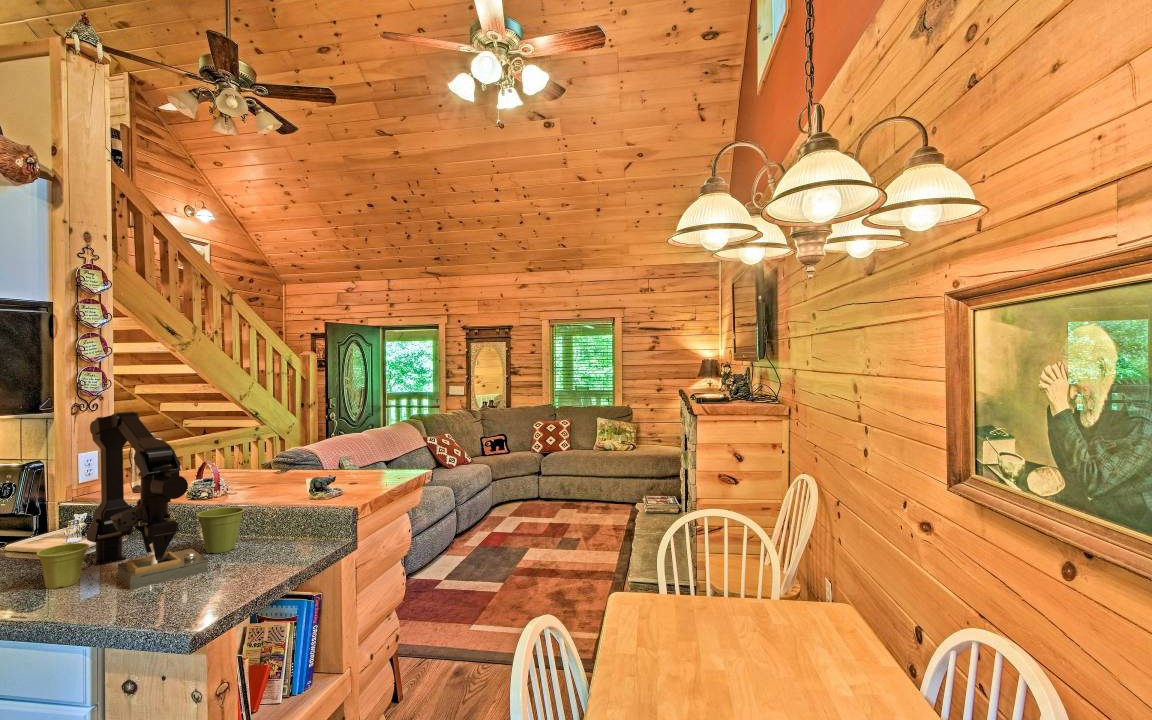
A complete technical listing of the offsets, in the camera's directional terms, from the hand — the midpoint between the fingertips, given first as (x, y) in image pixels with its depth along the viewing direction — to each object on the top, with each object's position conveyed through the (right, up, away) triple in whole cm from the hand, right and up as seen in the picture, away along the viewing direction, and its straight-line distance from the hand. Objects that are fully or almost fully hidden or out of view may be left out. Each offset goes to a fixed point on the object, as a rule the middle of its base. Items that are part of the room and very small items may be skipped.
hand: (153, 555), depth 141 cm
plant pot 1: (-18, -5, -6) cm, 20 cm away
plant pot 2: (+4, -6, +20) cm, 21 cm away
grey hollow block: (+1, -5, +1) cm, 5 cm away
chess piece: (0, -5, 0) cm, 5 cm away
